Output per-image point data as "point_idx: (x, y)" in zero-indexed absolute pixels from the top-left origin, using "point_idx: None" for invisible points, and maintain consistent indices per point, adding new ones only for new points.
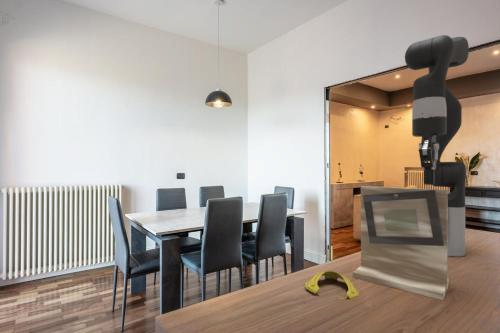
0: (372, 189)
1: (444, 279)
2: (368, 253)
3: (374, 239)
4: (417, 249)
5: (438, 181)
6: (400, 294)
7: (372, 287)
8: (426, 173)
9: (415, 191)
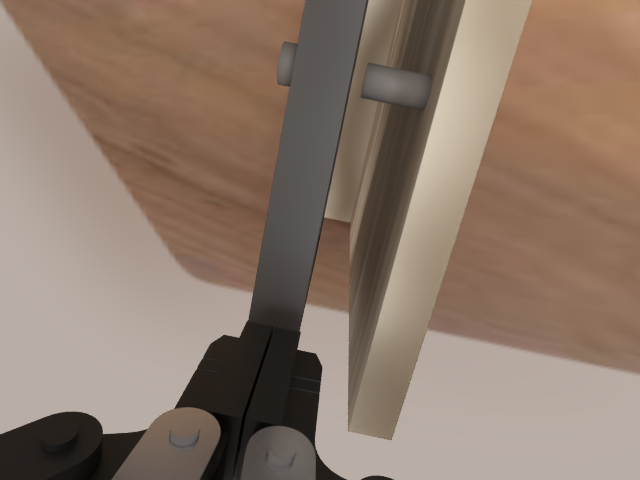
0: None
1: (351, 221)
2: None
3: None
4: (371, 161)
5: None
6: (255, 97)
7: (264, 8)
8: (181, 405)
9: (265, 227)
